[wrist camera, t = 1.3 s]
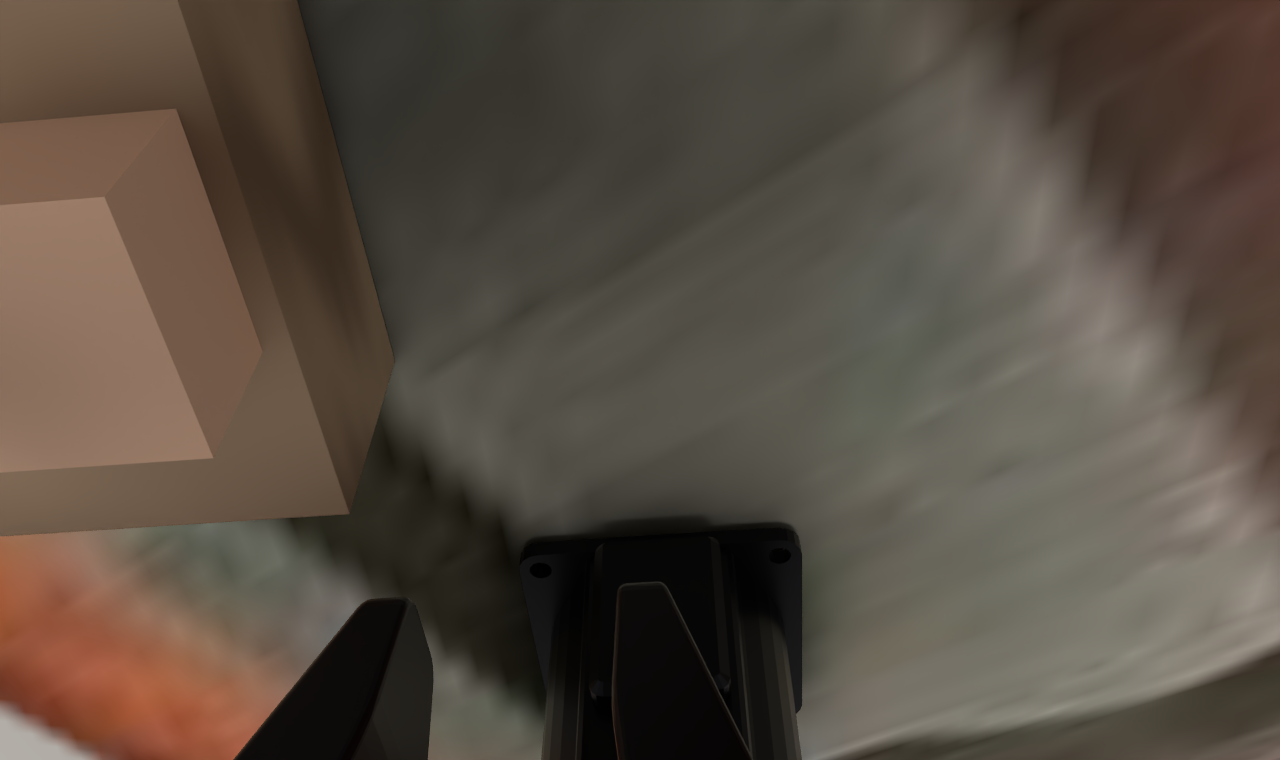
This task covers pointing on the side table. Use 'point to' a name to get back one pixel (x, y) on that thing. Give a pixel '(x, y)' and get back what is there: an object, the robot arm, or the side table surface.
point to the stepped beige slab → (255, 242)
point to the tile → (113, 297)
